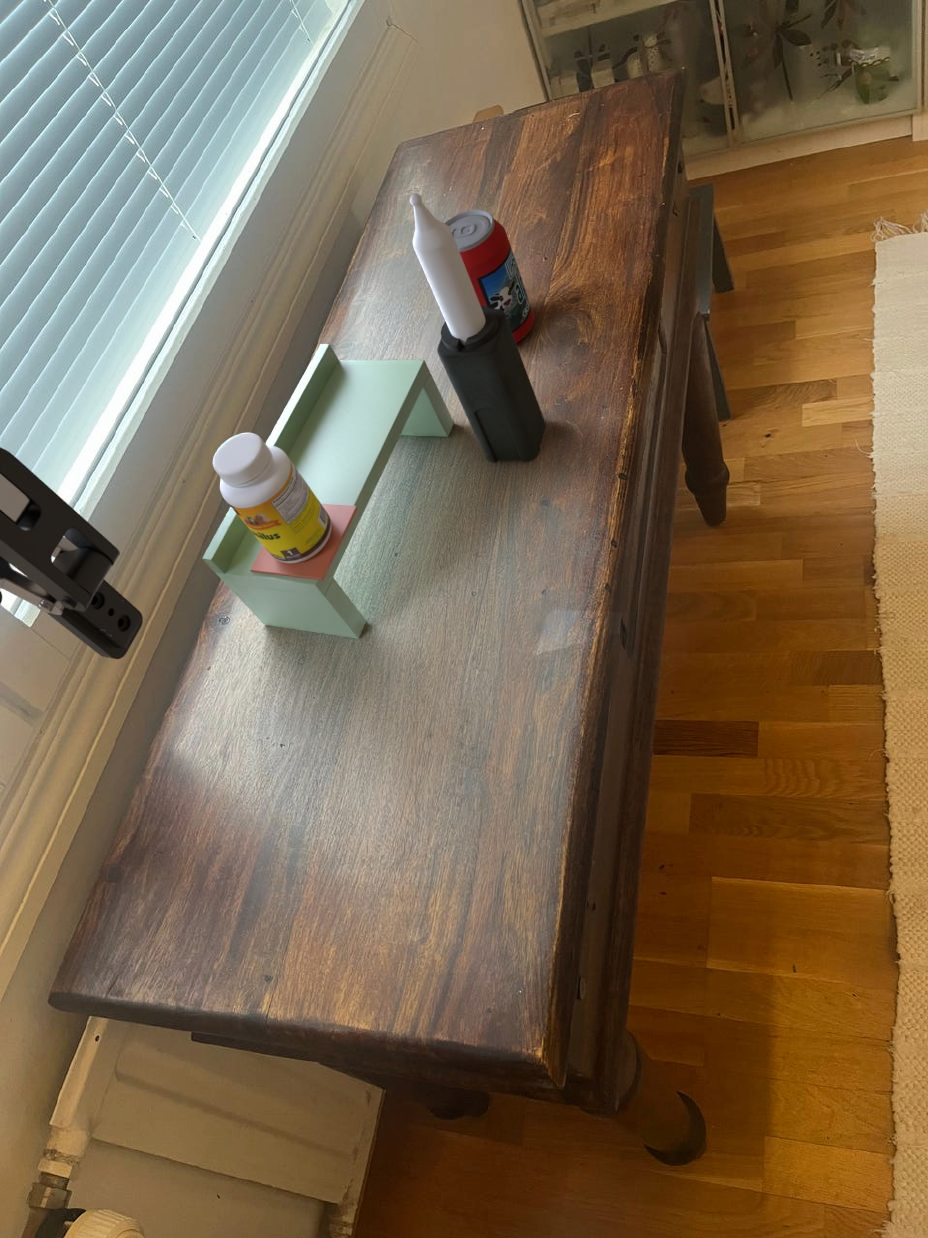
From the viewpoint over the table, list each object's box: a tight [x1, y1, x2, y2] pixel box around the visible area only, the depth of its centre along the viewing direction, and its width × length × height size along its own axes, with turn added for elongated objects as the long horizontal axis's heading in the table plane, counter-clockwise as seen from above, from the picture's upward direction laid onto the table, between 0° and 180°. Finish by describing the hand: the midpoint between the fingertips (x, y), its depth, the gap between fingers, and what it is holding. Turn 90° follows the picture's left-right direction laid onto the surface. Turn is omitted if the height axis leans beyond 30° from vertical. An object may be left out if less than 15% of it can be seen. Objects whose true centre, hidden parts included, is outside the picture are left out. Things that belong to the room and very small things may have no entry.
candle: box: [409, 192, 547, 464], centre depth 74 cm, size 5×5×25 cm
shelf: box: [201, 343, 455, 639], centre depth 81 cm, size 24×10×10 cm, turn 160°
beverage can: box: [443, 209, 535, 344], centre depth 88 cm, size 7×7×12 cm
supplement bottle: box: [212, 432, 332, 563], centre depth 70 cm, size 6×6×10 cm
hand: (54, 626), depth 39 cm, fingers open, 8 cm apart
